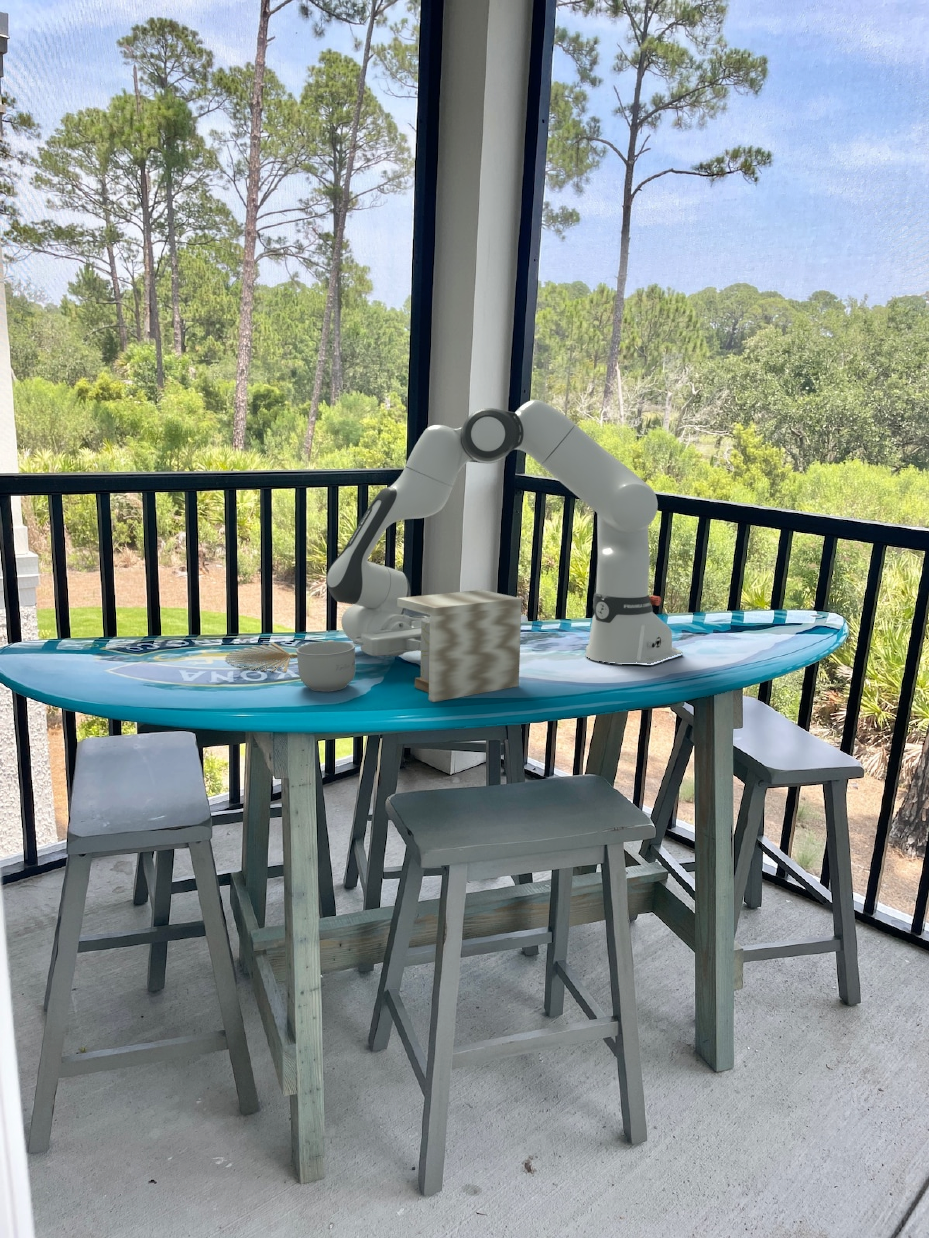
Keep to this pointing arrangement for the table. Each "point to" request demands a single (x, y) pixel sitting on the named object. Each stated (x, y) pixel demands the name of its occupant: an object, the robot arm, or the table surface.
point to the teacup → (326, 665)
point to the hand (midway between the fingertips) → (430, 646)
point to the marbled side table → (469, 642)
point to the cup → (425, 647)
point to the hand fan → (262, 657)
